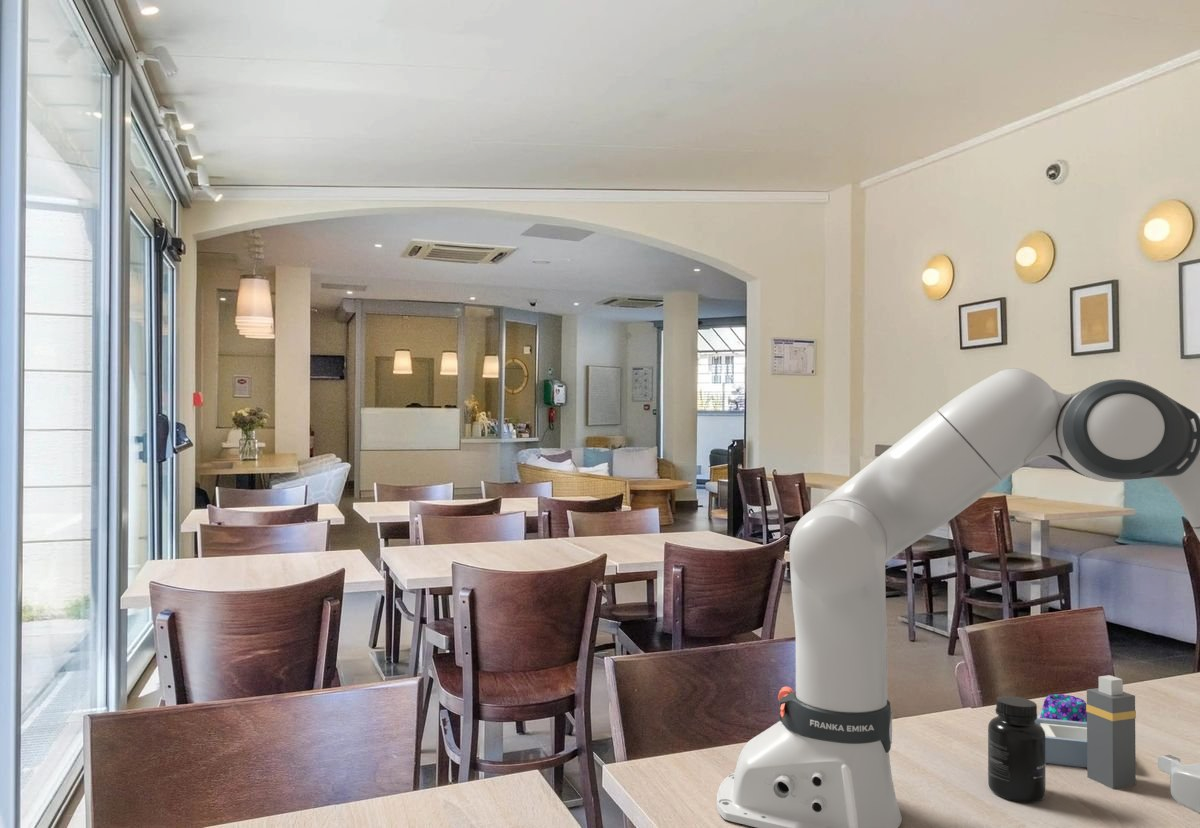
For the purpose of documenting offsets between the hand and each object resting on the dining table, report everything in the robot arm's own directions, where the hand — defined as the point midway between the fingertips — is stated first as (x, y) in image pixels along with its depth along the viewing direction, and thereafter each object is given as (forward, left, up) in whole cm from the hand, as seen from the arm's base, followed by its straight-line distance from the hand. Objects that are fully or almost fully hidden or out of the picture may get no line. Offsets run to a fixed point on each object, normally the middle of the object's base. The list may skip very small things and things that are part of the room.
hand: (1190, 756), depth 104 cm
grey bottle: (-6, +9, -7) cm, 13 cm away
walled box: (-11, +18, -7) cm, 22 cm away
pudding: (-8, +29, -8) cm, 31 cm away
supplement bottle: (-19, +1, -8) cm, 21 cm away
